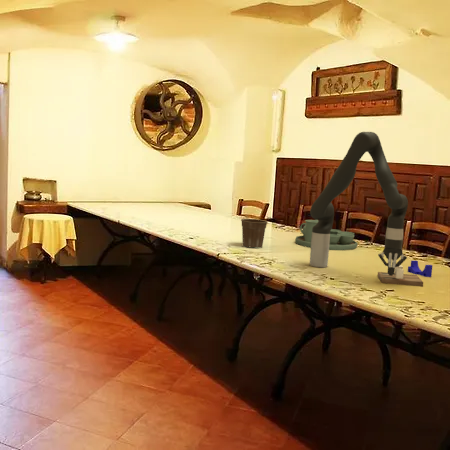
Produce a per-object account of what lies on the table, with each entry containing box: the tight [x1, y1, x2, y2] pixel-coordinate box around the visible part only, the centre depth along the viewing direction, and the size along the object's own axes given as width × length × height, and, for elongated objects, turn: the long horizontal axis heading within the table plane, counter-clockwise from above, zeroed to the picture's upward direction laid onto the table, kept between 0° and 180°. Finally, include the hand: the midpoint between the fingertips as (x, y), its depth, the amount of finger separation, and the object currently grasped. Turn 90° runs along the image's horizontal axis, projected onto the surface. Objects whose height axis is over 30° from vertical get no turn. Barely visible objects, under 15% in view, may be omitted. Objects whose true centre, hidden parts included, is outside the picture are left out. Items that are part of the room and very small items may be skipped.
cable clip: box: [407, 260, 433, 278], centre depth 258 cm, size 12×4×6 cm, turn 19°
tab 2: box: [394, 269, 405, 279], centre depth 235 cm, size 3×3×4 cm
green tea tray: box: [294, 219, 359, 251], centre depth 336 cm, size 40×40×16 cm
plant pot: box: [240, 218, 268, 248], centre depth 313 cm, size 16×16×16 cm
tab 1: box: [394, 264, 404, 273], centre depth 244 cm, size 3×3×4 cm
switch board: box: [376, 271, 424, 287], centre depth 240 cm, size 15×18×2 cm
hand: (390, 275), depth 236 cm, fingers closed
